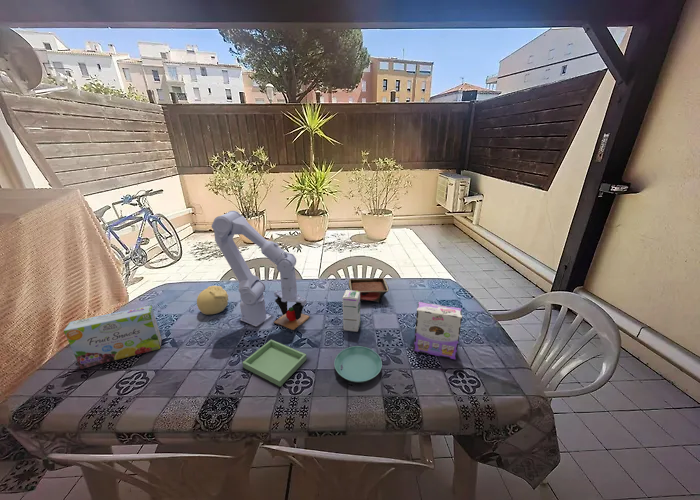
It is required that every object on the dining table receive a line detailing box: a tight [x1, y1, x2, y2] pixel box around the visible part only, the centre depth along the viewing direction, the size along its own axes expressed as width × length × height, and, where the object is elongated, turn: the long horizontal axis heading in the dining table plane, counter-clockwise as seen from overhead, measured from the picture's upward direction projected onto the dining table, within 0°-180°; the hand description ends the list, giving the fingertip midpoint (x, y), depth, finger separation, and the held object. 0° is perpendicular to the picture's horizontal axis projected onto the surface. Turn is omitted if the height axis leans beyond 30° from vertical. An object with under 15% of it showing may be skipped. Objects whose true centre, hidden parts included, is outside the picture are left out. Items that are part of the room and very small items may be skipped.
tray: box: [241, 339, 307, 388], centre depth 86 cm, size 15×12×2 cm
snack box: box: [63, 305, 163, 370], centre depth 88 cm, size 21×6×15 cm, turn 117°
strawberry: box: [286, 306, 296, 321], centre depth 108 cm, size 4×4×5 cm
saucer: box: [333, 345, 383, 384], centre depth 84 cm, size 15×15×3 cm
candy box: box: [412, 301, 463, 360], centre depth 90 cm, size 14×6×16 cm, turn 71°
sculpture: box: [196, 285, 229, 316], centre depth 114 cm, size 12×12×11 cm
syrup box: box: [341, 289, 361, 333], centre depth 102 cm, size 6×6×14 cm
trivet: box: [273, 312, 311, 331], centre depth 109 cm, size 10×10×1 cm
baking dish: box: [347, 277, 390, 304], centre depth 124 cm, size 14×18×10 cm
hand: (291, 315), depth 108 cm, fingers open, 6 cm apart
